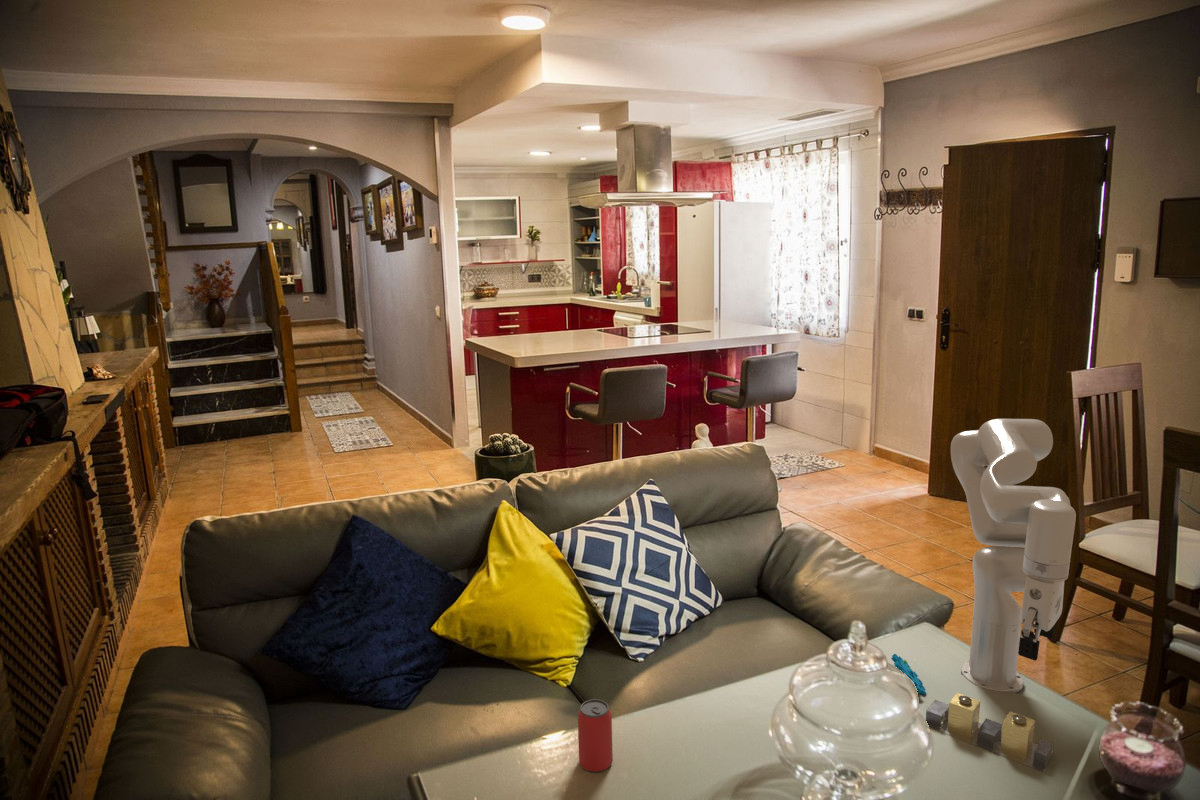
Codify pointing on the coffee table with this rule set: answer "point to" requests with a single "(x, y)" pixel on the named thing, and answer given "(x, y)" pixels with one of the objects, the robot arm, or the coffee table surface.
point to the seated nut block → (963, 715)
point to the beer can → (595, 735)
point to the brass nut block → (1017, 735)
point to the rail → (988, 737)
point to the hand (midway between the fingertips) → (1035, 646)
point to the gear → (908, 672)
